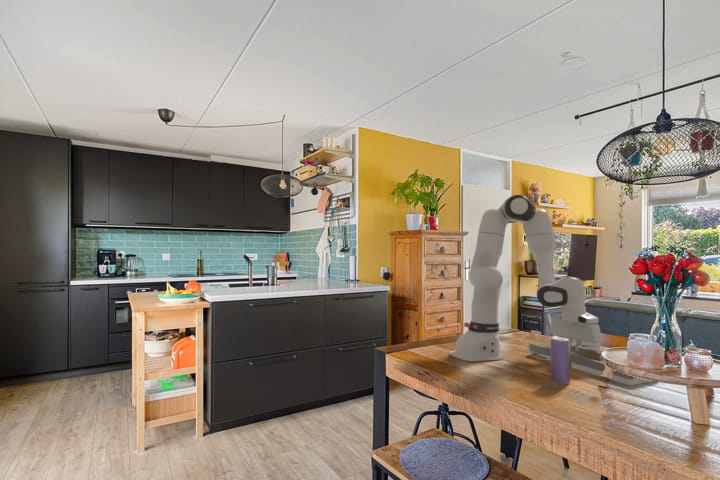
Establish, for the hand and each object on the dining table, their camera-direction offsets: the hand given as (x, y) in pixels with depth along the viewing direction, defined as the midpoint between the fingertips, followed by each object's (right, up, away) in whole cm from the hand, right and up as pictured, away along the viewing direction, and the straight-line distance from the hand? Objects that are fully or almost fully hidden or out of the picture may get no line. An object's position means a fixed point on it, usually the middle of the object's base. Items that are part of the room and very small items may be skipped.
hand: (574, 349), depth 158 cm
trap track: (+2, -5, -6) cm, 8 cm away
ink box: (+14, -6, +14) cm, 20 cm away
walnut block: (+3, -3, -9) cm, 10 cm away
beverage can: (-19, -4, -25) cm, 32 cm away
